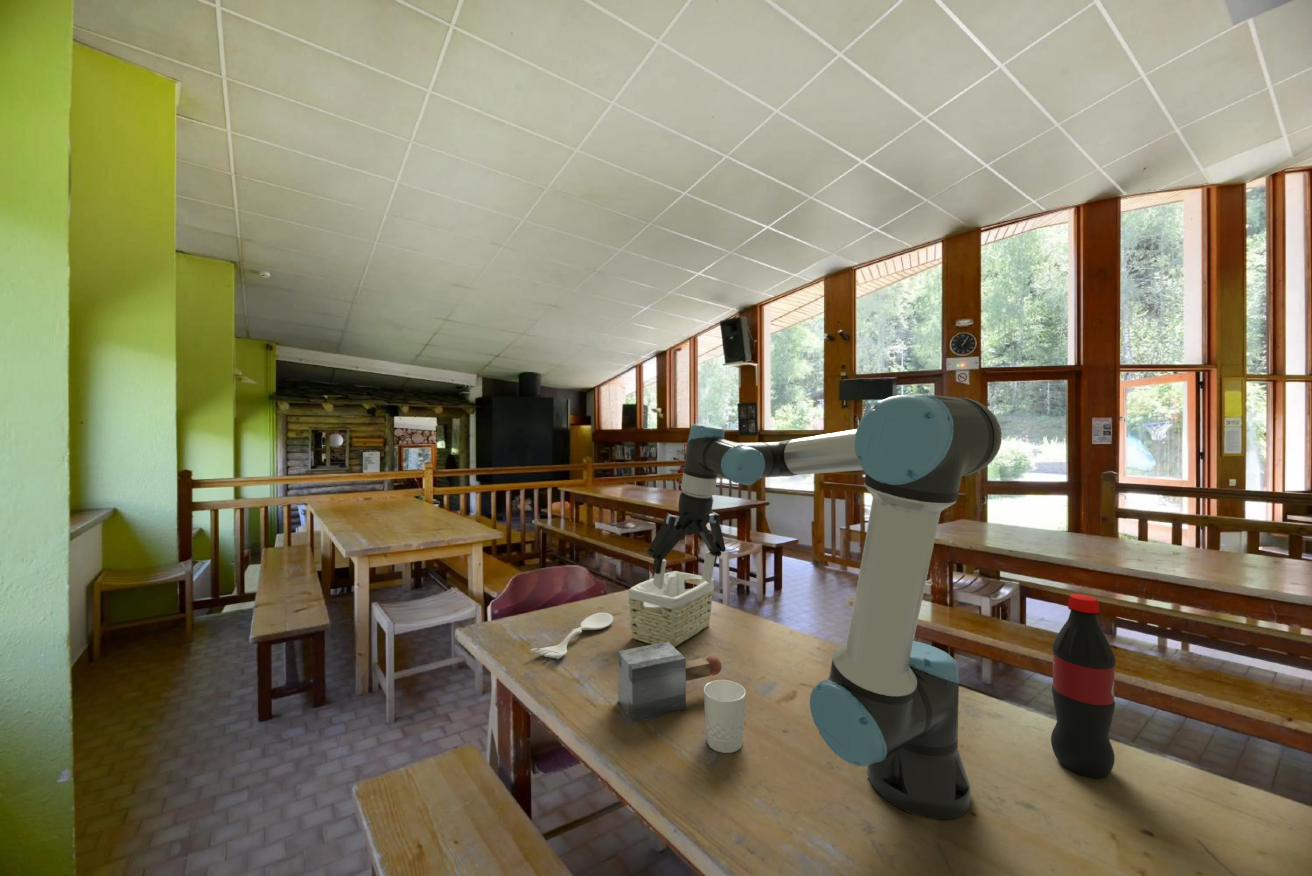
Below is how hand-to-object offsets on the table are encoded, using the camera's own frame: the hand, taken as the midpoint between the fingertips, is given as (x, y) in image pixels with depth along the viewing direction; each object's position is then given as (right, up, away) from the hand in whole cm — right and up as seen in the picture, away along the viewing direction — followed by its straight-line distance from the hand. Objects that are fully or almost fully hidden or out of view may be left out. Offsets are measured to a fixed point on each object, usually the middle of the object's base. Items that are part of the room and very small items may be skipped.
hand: (682, 583), depth 114 cm
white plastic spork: (-28, -24, +27) cm, 46 cm away
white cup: (+7, -25, -19) cm, 32 cm away
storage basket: (-1, -24, +32) cm, 40 cm away
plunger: (+2, -21, -3) cm, 21 cm away
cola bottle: (+69, -25, -26) cm, 77 cm away
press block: (-7, -24, -6) cm, 26 cm away
